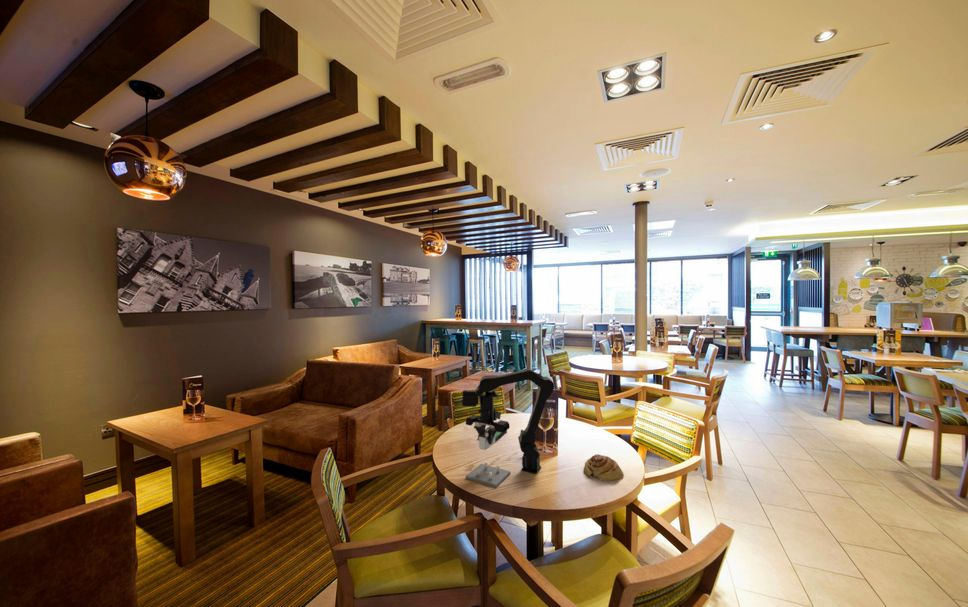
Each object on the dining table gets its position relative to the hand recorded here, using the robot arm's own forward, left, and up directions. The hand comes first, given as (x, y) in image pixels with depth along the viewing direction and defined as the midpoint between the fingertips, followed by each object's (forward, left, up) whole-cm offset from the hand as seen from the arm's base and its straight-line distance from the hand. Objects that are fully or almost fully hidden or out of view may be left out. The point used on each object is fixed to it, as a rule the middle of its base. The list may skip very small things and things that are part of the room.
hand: (487, 443), depth 144 cm
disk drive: (+16, -33, -12) cm, 39 cm away
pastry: (-43, -20, -11) cm, 49 cm away
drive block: (0, 0, -1) cm, 1 cm away
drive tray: (-3, +5, -11) cm, 12 cm away
